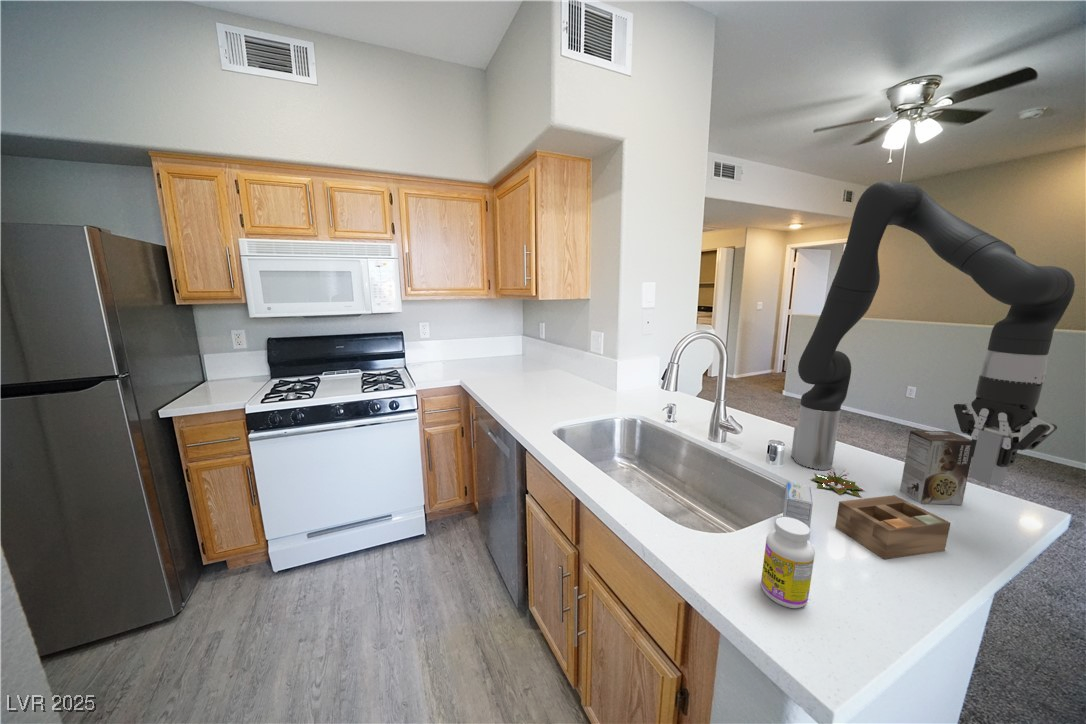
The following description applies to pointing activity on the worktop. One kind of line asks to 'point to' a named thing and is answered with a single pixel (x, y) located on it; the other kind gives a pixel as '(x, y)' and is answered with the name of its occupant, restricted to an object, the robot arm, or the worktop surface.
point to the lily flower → (838, 481)
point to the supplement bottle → (788, 563)
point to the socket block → (892, 526)
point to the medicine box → (798, 503)
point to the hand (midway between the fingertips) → (990, 461)
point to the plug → (987, 457)
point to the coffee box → (936, 467)
